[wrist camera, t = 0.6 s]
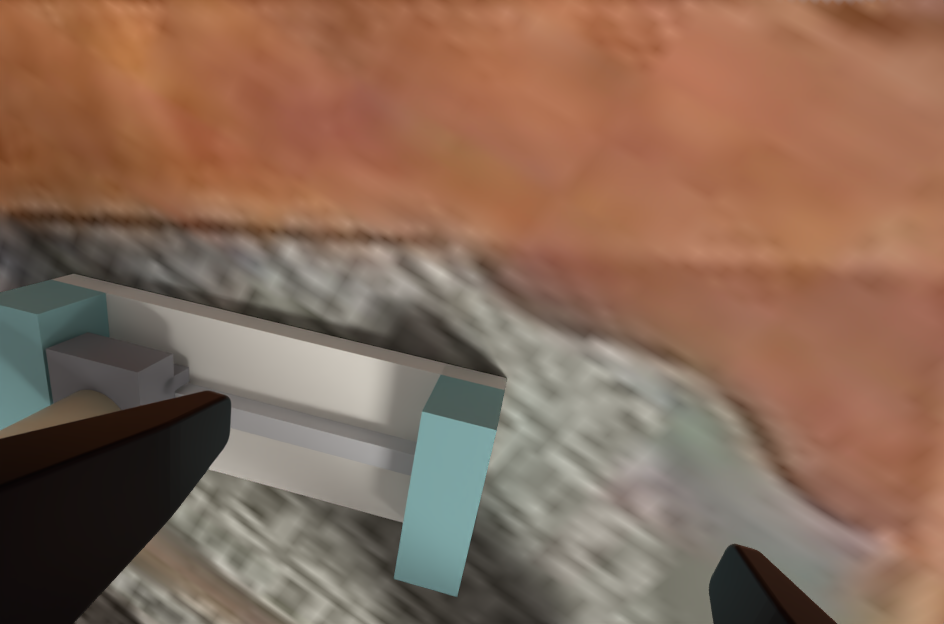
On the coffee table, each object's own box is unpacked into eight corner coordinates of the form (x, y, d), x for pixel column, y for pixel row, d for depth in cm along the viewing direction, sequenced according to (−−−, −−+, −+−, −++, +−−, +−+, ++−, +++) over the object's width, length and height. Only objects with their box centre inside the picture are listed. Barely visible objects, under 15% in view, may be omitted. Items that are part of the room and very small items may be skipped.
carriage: (191, 447, 25) (36, 574, 18) (116, 427, 25) (-67, 542, 18) (188, 345, 23) (12, 439, 15) (106, 325, 23) (-105, 406, 16)
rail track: (472, 523, 26) (457, 597, 21) (90, 420, 28) (7, 468, 24) (507, 378, 23) (496, 430, 18) (74, 273, 25) (-25, 298, 20)
